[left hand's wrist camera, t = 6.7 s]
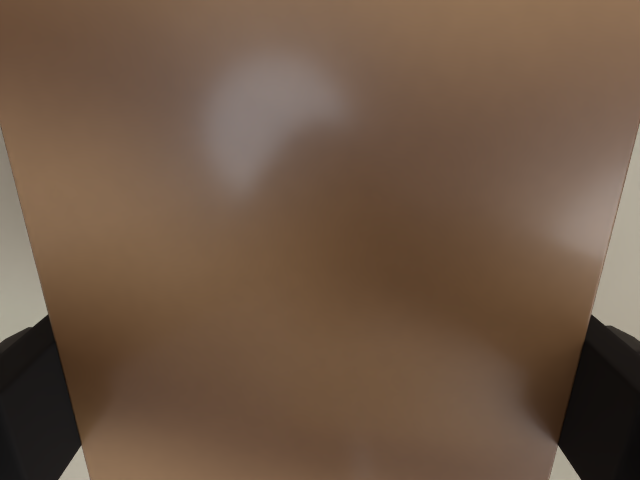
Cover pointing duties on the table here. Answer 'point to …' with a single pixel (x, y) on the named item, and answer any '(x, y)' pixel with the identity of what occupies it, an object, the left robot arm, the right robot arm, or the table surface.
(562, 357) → the cabinet
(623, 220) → the table surface
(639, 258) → the table surface
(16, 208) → the table surface
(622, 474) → the left robot arm
